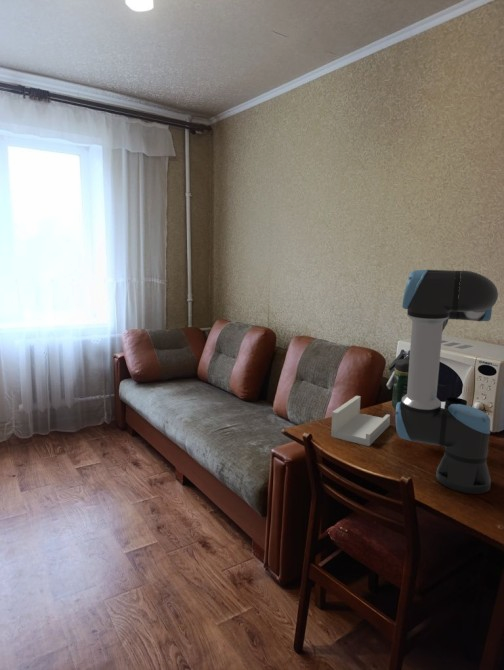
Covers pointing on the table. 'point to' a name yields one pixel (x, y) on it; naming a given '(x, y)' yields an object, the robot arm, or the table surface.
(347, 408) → the channel shelf
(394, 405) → the coffee jar
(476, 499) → the table surface
